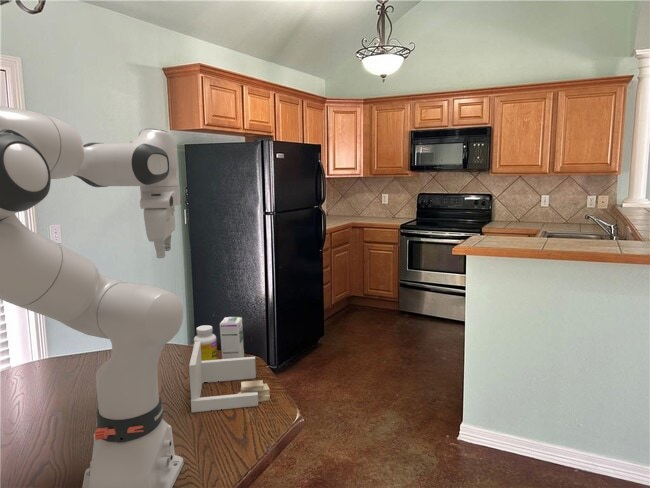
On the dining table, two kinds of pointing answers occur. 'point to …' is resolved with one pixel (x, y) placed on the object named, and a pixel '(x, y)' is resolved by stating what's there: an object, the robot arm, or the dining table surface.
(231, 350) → the syrup box
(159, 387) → the salmon pink rectangular block
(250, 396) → the offcut rack
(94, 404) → the dining table surface
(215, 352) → the supplement bottle
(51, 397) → the dining table surface
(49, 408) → the dining table surface
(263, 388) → the offcut stack
